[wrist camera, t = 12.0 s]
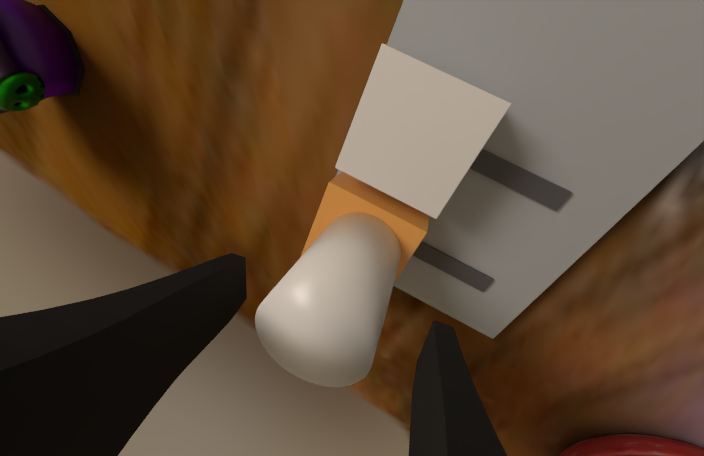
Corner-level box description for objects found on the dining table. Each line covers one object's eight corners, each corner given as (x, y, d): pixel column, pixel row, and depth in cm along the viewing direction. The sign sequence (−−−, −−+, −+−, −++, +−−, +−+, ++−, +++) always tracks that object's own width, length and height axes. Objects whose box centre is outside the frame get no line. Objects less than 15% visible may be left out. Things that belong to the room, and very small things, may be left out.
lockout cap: (410, 225, 13) (385, 317, 8) (391, 292, 15) (360, 402, 9) (328, 202, 13) (254, 273, 8) (319, 269, 15) (255, 360, 10)
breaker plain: (499, 101, 12) (511, 103, 10) (437, 199, 14) (436, 219, 12) (393, 51, 12) (381, 43, 10) (351, 156, 15) (334, 167, 13)
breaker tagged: (430, 211, 15) (427, 232, 13) (388, 277, 17) (380, 304, 15) (346, 168, 15) (328, 181, 13) (317, 239, 18) (299, 260, 16)
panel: (790, 33, 10) (831, 26, 9) (490, 327, 18) (493, 341, 17) (451, -108, 11) (452, -129, 10) (316, 234, 19) (309, 242, 18)
